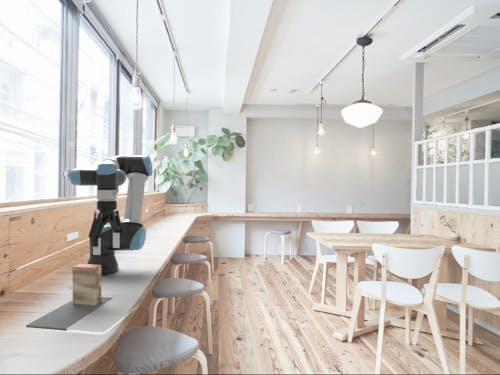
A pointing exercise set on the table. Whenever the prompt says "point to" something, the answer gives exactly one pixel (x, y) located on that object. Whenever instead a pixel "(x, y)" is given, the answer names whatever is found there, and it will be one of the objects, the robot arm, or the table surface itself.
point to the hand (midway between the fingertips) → (106, 251)
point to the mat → (65, 315)
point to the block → (86, 284)
